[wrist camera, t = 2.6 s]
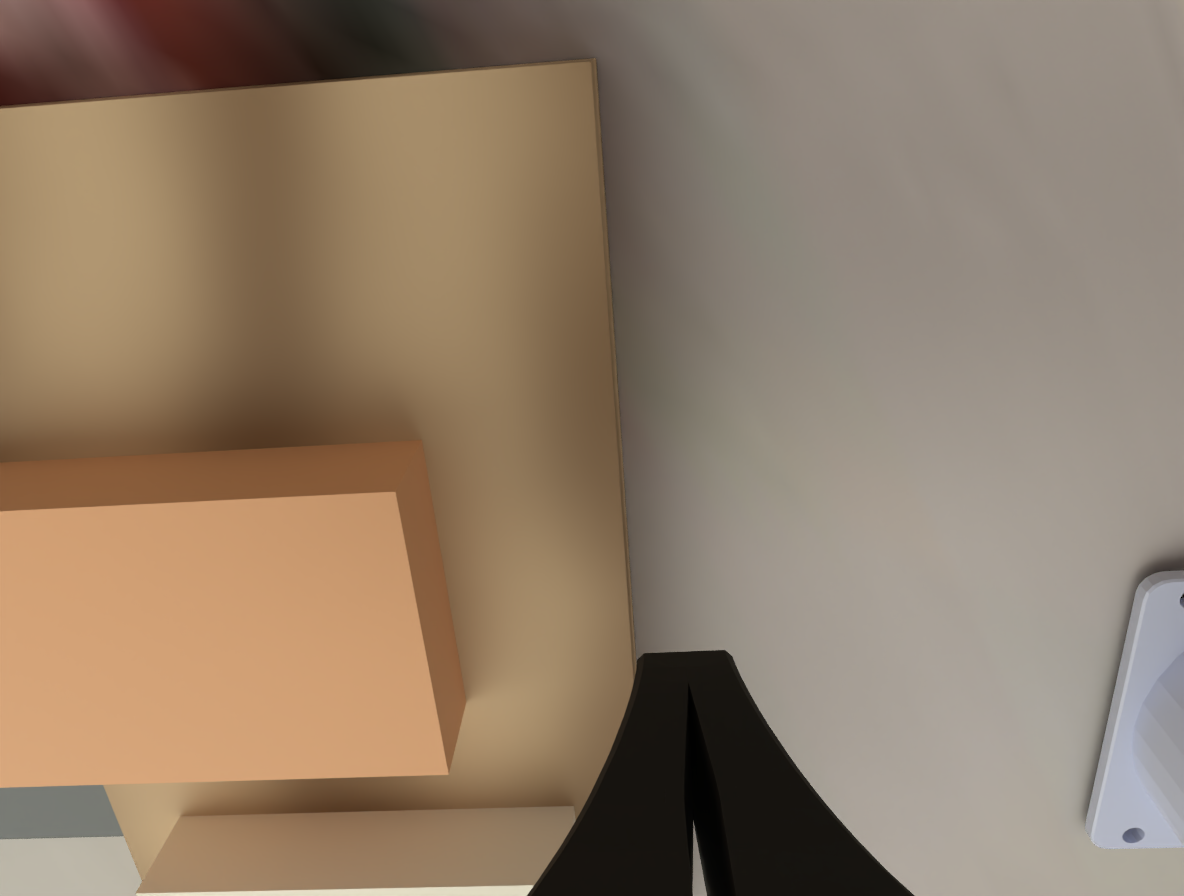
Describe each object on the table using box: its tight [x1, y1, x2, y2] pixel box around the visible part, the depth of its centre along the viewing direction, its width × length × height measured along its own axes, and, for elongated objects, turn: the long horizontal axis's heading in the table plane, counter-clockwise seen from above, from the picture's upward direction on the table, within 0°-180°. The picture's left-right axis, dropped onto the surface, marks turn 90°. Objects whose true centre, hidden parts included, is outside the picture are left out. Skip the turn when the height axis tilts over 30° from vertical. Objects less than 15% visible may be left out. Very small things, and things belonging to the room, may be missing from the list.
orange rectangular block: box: [0, 440, 466, 788], centre depth 17 cm, size 9×6×2 cm, turn 94°
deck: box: [0, 58, 636, 881], centre depth 19 cm, size 12×22×2 cm, turn 4°
